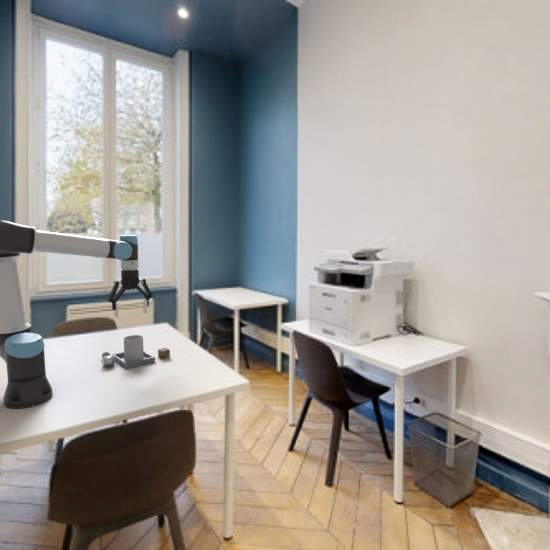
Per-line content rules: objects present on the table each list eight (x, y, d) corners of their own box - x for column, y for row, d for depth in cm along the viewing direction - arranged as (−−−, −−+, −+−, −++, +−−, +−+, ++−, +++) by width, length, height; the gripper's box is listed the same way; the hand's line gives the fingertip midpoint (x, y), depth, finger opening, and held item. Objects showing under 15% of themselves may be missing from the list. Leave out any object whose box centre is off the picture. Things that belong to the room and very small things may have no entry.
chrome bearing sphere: (104, 368, 173) (104, 359, 173) (101, 365, 177) (100, 357, 177) (116, 365, 177) (115, 357, 176) (112, 363, 180) (111, 354, 180)
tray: (125, 369, 173) (125, 363, 173) (112, 359, 185) (112, 354, 185) (155, 361, 182) (154, 357, 182) (140, 353, 194) (139, 348, 194)
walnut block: (162, 359, 186) (162, 351, 185) (158, 357, 189) (158, 349, 188) (169, 357, 188) (169, 349, 188) (165, 355, 191) (165, 347, 191)
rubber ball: (103, 361, 182) (103, 353, 182) (100, 359, 185) (100, 351, 184) (111, 359, 185) (111, 352, 184) (108, 357, 187) (108, 350, 187)
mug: (144, 362, 179) (143, 339, 178) (124, 364, 177) (123, 341, 175) (143, 354, 191) (142, 332, 189) (124, 356, 188) (123, 333, 186)
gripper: (104, 271, 167) (106, 320, 169) (159, 268, 184) (160, 312, 186) (98, 270, 172) (100, 317, 175) (152, 266, 189) (153, 310, 192)
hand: (131, 315), depth 181 cm, fingers open, 13 cm apart
